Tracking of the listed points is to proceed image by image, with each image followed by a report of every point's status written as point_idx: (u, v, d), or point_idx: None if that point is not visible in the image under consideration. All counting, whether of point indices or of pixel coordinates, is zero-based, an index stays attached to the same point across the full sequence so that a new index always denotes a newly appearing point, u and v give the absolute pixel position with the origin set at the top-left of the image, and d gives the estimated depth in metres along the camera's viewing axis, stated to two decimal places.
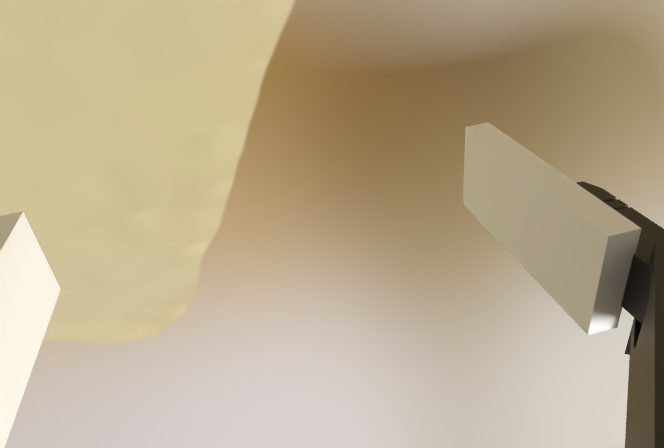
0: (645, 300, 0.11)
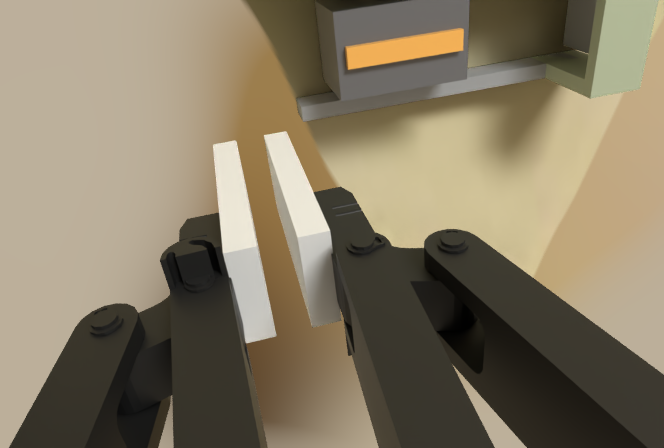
0: (347, 305, 0.12)
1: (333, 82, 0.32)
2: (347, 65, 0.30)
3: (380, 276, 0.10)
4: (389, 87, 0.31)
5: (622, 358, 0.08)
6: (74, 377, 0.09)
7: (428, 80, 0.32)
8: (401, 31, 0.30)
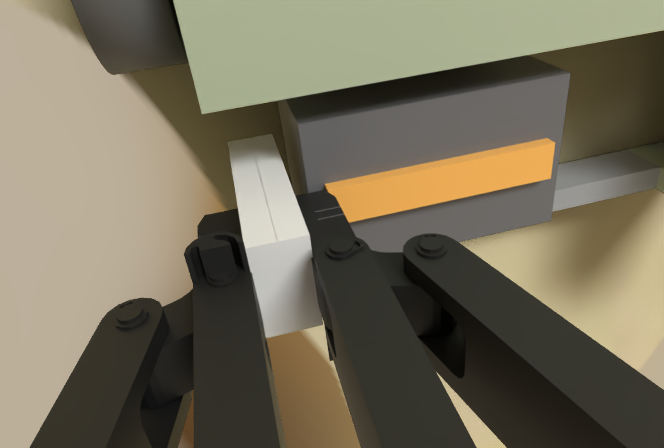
0: (327, 310, 0.12)
1: None
2: None
3: (360, 280, 0.10)
4: None
5: (602, 359, 0.08)
6: (99, 370, 0.09)
7: (482, 227, 0.17)
8: (435, 150, 0.15)
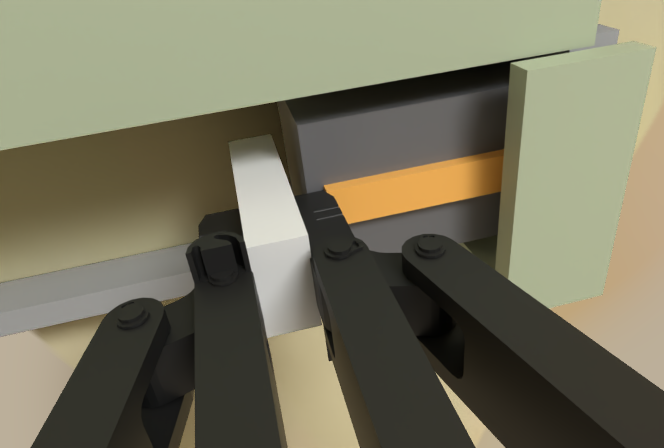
0: (326, 310, 0.12)
1: None
2: None
3: (359, 281, 0.10)
4: None
5: (600, 359, 0.08)
6: (101, 369, 0.09)
7: (482, 229, 0.17)
8: (435, 152, 0.15)
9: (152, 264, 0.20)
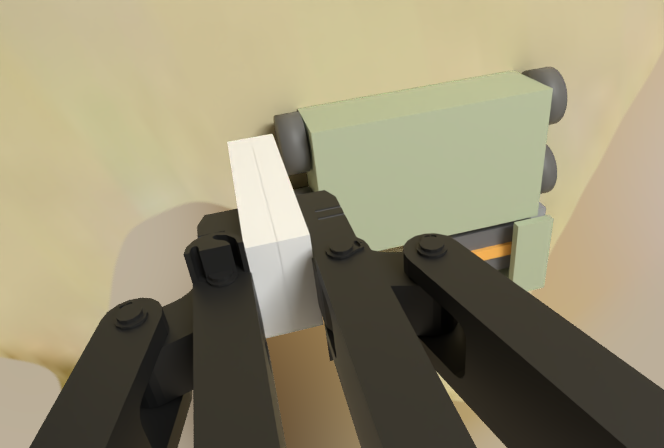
0: (327, 310, 0.12)
1: None
2: None
3: (360, 281, 0.10)
4: None
5: (602, 359, 0.08)
6: (99, 370, 0.09)
7: (504, 265, 0.52)
8: (490, 243, 0.50)
9: None
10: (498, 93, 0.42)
